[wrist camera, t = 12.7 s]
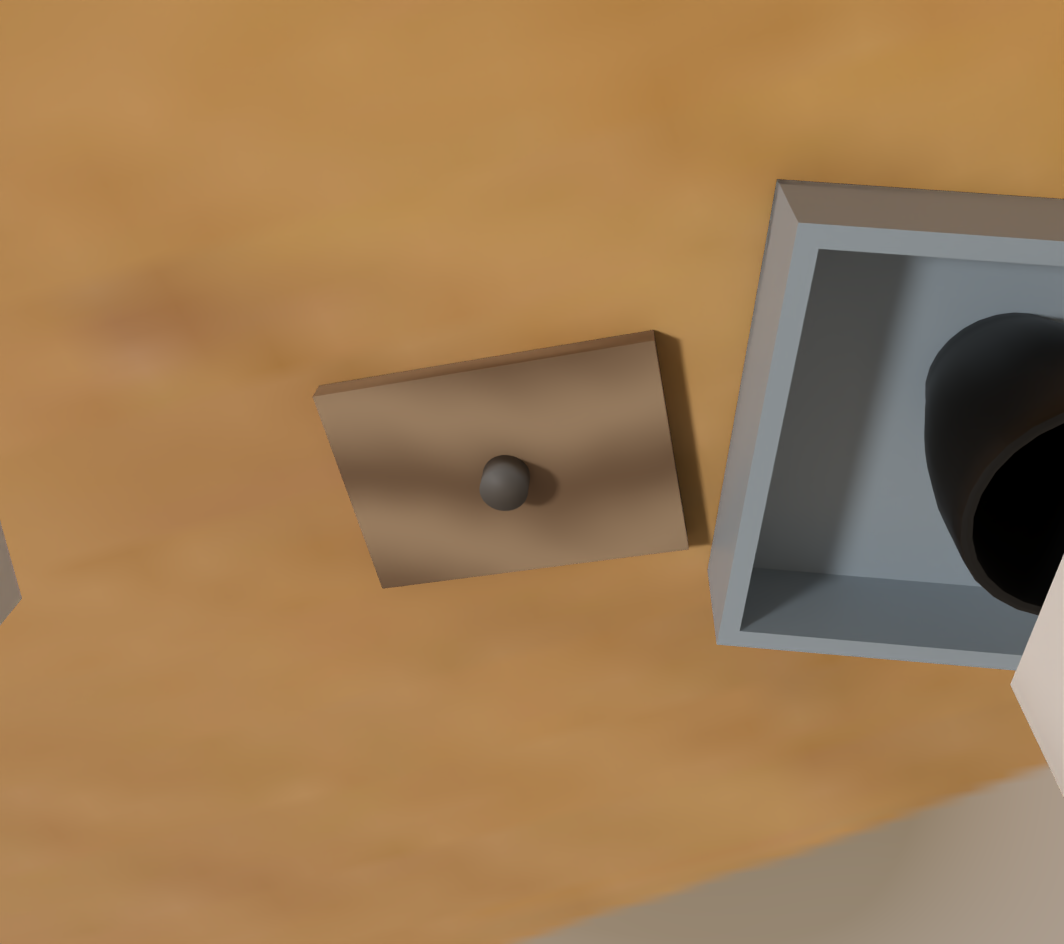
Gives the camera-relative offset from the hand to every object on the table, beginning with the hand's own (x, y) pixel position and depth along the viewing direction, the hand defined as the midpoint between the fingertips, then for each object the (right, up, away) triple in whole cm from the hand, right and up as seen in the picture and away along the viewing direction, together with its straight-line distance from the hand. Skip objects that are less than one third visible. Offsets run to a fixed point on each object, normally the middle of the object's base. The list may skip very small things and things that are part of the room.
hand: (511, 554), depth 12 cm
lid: (-1, +1, +31) cm, 31 cm away
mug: (+19, +3, +27) cm, 33 cm away
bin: (+18, +3, +28) cm, 34 cm away
